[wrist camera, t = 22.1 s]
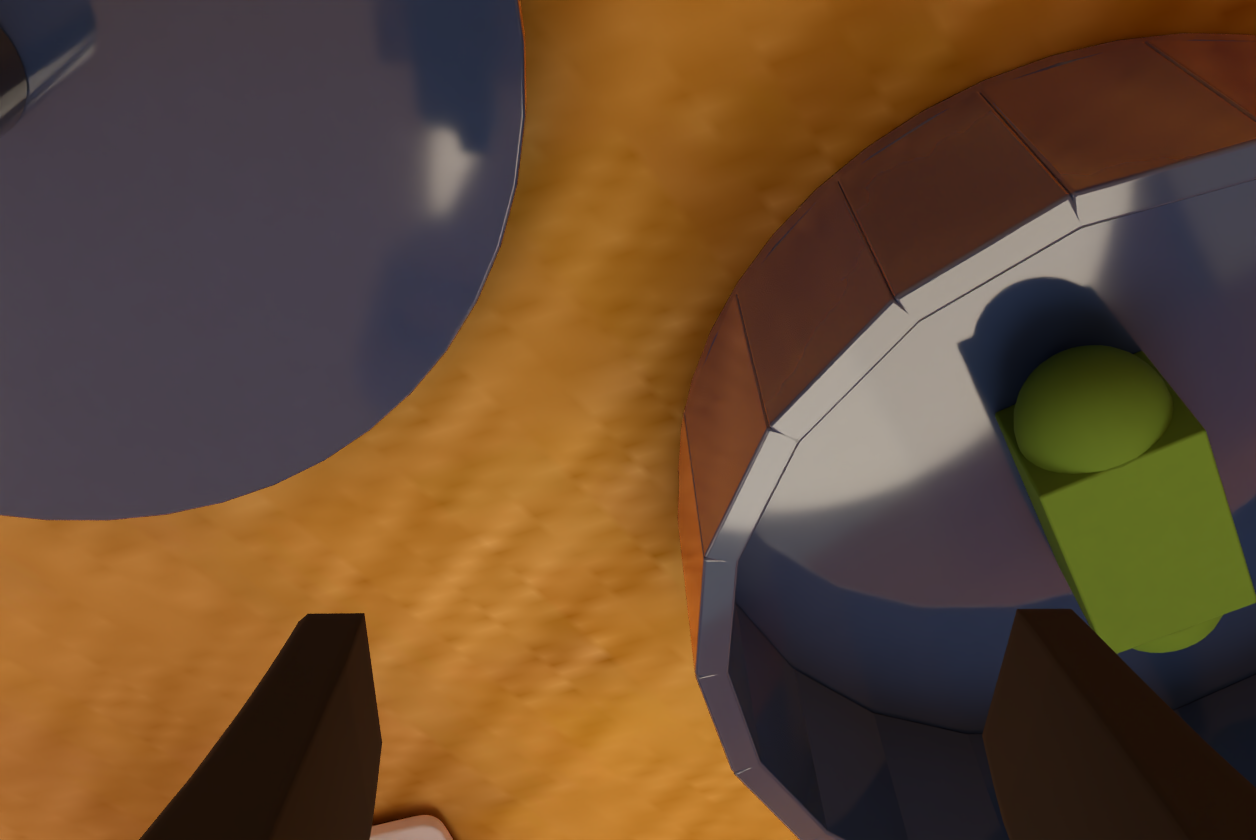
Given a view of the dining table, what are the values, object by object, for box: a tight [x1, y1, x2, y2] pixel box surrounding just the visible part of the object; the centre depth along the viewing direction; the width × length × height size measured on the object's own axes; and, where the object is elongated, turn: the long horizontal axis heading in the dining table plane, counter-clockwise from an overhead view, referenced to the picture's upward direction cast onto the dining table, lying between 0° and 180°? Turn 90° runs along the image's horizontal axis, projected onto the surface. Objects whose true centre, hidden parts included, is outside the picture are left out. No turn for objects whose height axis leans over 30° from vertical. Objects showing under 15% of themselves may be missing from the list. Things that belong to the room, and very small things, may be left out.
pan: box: [678, 33, 1256, 840], centre depth 22 cm, size 17×17×5 cm
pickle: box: [995, 345, 1256, 654], centre depth 23 cm, size 7×3×3 cm, turn 28°
